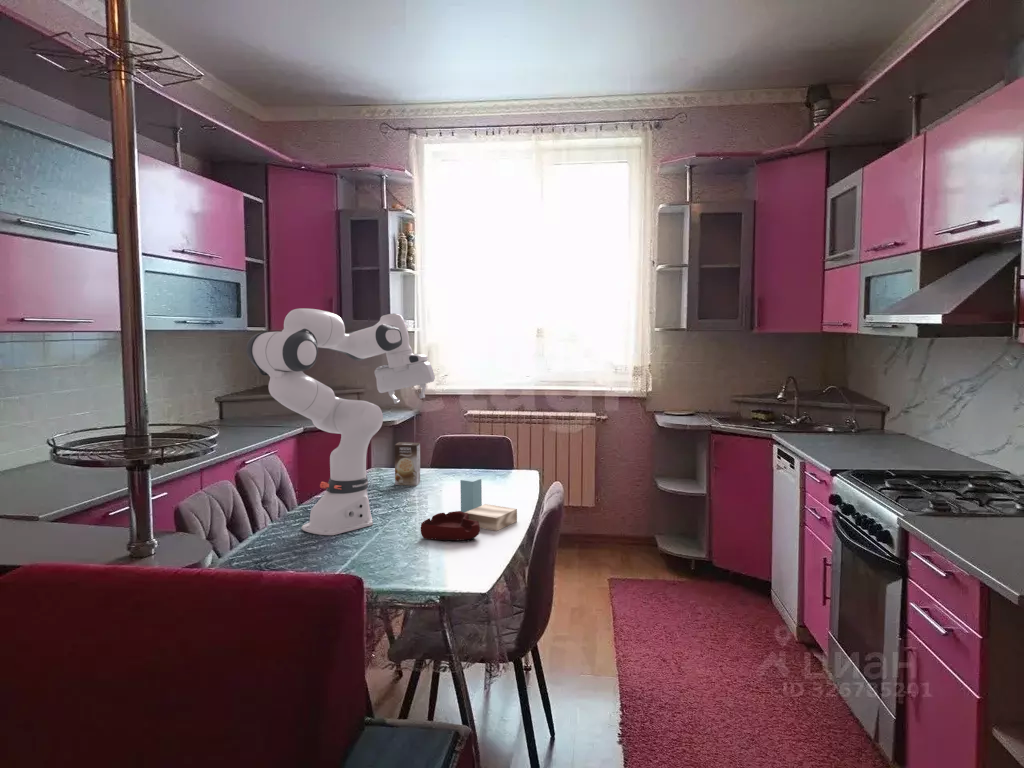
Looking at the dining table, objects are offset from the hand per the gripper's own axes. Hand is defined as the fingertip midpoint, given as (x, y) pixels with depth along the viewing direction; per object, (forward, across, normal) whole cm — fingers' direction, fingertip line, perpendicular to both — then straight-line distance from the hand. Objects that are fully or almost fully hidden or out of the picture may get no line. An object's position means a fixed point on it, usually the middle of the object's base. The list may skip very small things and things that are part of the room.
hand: (409, 400), depth 235 cm
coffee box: (+32, -21, +32) cm, 50 cm away
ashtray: (+41, +14, -29) cm, 52 cm away
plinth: (+43, +23, -14) cm, 51 cm away
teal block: (+40, +14, -2) cm, 43 cm away
